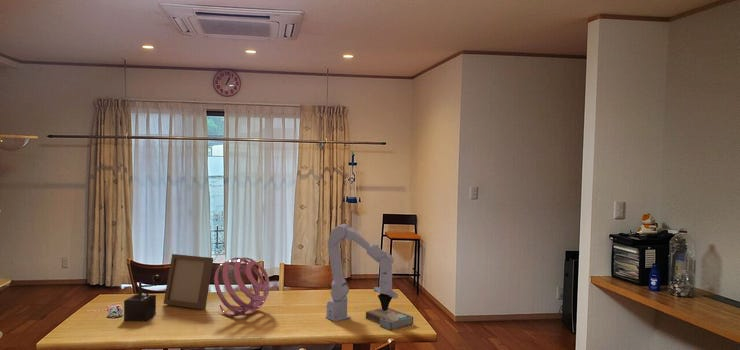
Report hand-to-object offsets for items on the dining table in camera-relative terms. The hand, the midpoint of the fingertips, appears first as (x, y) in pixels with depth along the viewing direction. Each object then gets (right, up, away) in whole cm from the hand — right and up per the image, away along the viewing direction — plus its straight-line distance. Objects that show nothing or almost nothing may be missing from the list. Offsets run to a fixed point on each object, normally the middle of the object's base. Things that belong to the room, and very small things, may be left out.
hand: (384, 310), depth 223 cm
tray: (+5, -6, -3) cm, 9 cm away
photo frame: (-97, -3, +21) cm, 100 cm away
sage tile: (+7, -5, 0) cm, 9 cm away
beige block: (+3, -4, -3) cm, 5 cm away
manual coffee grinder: (-112, -3, +2) cm, 113 cm away
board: (0, -6, +5) cm, 8 cm away
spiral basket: (-68, -4, +8) cm, 69 cm away
